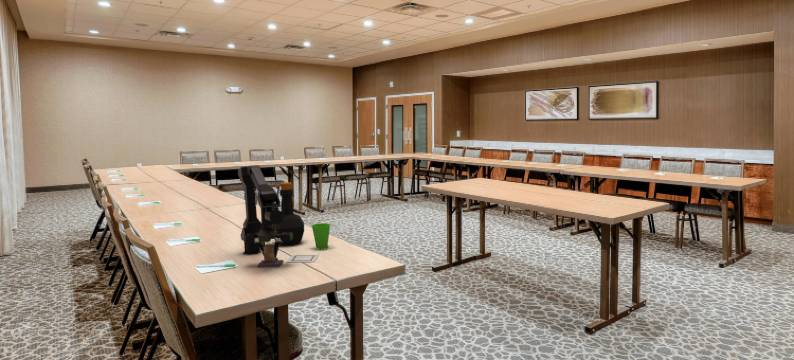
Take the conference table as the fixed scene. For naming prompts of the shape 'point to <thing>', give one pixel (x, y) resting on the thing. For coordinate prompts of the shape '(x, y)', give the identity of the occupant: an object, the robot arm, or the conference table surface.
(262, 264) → the ink pad
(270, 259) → the stamp
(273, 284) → the conference table surface
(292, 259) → the frame
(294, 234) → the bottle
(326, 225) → the cup
